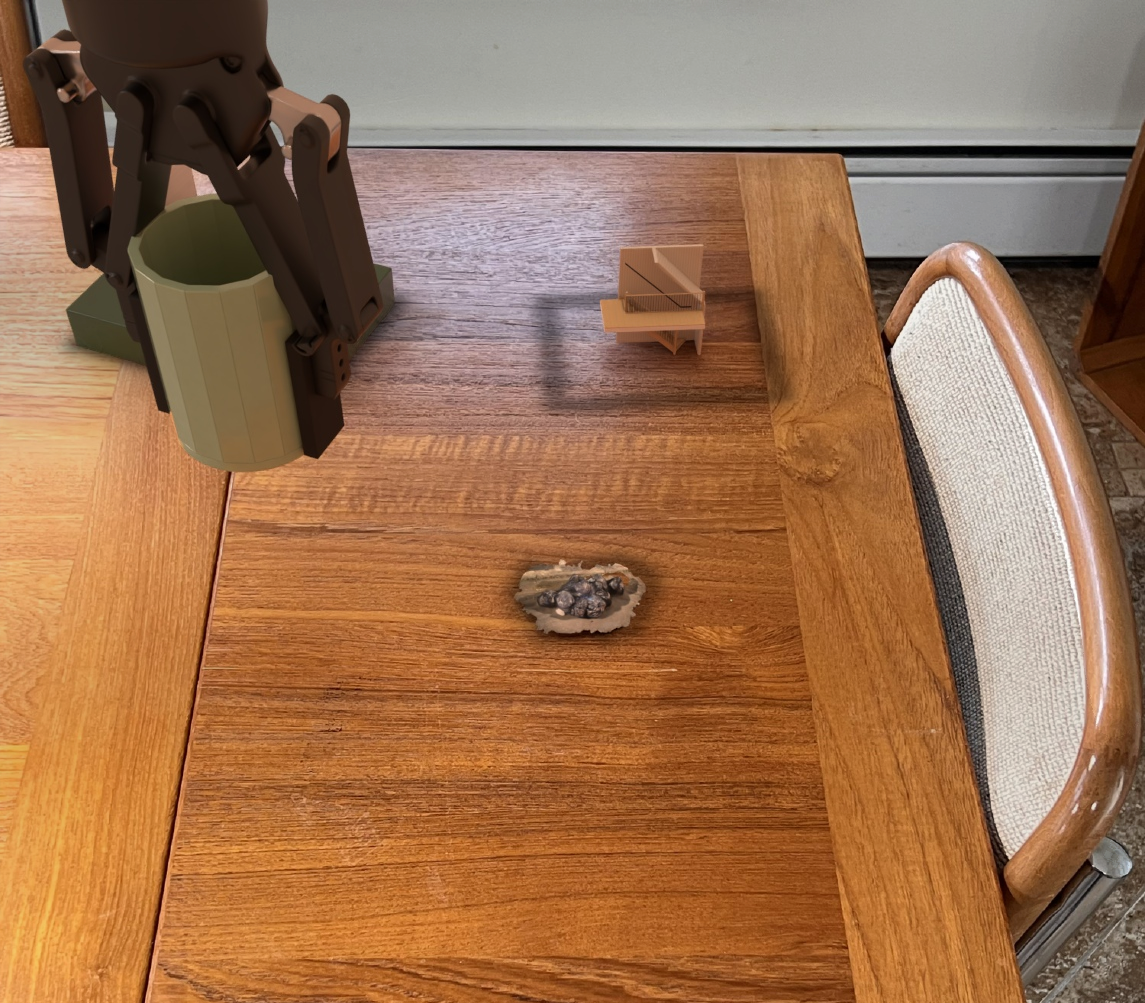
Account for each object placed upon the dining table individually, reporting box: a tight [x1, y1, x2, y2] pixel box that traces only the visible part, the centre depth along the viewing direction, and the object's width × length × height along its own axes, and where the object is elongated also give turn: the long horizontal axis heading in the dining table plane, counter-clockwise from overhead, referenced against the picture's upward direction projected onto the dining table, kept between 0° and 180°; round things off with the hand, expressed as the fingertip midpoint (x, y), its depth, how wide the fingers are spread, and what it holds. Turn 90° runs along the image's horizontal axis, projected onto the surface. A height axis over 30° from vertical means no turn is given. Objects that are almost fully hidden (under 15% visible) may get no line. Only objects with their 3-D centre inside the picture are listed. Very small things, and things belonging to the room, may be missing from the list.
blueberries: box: [513, 559, 647, 634], centre depth 83 cm, size 7×8×2 cm
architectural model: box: [599, 243, 707, 356], centre depth 95 cm, size 3×7×7 cm, turn 95°
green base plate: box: [65, 263, 396, 366], centre depth 98 cm, size 19×13×3 cm
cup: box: [127, 193, 305, 473], centre depth 66 cm, size 7×7×10 cm
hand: (251, 417), depth 70 cm, fingers closed on cup, 7 cm apart
